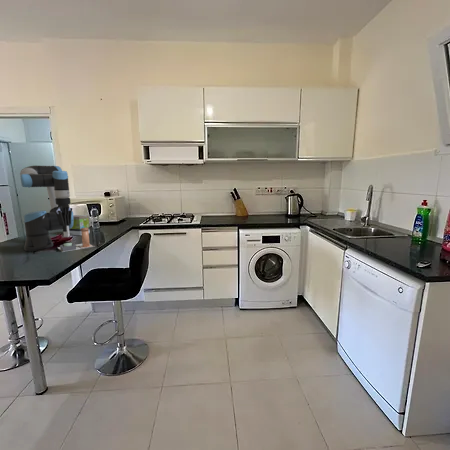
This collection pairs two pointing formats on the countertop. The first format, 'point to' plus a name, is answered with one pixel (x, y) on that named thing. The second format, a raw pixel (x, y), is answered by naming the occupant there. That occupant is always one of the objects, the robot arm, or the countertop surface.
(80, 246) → the board
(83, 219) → the tea box
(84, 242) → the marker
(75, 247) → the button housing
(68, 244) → the button
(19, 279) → the countertop surface
